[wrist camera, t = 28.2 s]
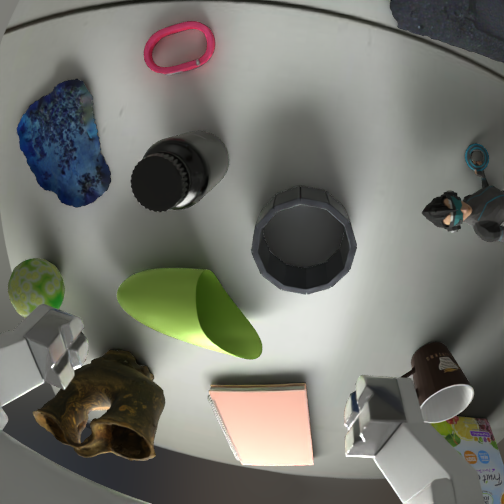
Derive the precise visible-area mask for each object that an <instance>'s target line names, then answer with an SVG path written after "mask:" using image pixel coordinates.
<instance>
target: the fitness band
mask: <svg viewBox="0 0 504 504" xmlns="http://www.w3.org/2000/svg"><path fill="white" fill-rule="evenodd" d="M188 29H198V30H200V31H202V32H203V33H204V34H205V36H206V39H207V49H206V52H205V53H204V55H203V56H202V57H201V58H200V59H197V60H193V61H190V62H186V63H183V64H180V65H176V66H172V67H159V66H157V65H156V64H155V63H154V61H153V58H152V51H153V48H154V46H155V45H156V43H157V42H158V41H159V40H160V39H162V38H163V37H165V36H168V35H171V34H174V33H177V32H181V31H184V30H188ZM214 49H215V39H214V35H213V33H212V31H211V30H210V29H209V28H208V27H207V26H206V25H204V24H202V23H200V22H196V21H187V22H183V23H179V24H175V25H172V26H169V27H166V28H163V29H161V30H159V31H157V32H156V33H154V34H153V35H152V36H151V37H150V38H149V40H148V41H147V43H146V45H145V48H144V60H145V62H146V64H147V66H148V67H149V68H150V69H151V70H153V71H155V72H157V73H163V74H165V75H171V74H176V73H180V72H184V71H188V70H191V69H194V68H197V67H199V66H201V65H203V64H204V63H206V62H207V61H208V60H209V59H210V58H211V56H212V54H213V52H214Z"/></svg>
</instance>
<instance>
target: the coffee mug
mask: <svg viewBox="0 0 504 504" xmlns="http://www.w3.org/2000/svg"><path fill="white" fill-rule="evenodd" d="M411 365H412V370H411V371H409V372H408V373H406V374H405V375H403V376H401V377H400V378H407V377H409V376H410V375H412V374H413V379H414V387H415V390H416V394H417V398H418V401H419V405H420V408H421V412H422V416H423V420H424V422H429V423H439V422H443V421H446V420H448V419H451V418H453V417H454V416H456V415H458V414H459V413H461V412H462V411H463V410H464V409H465V408H466V407H467V406H468V405H469V404H470V403H471V401H472V399H473V396H474V390H473V388H472V386H471V384H470V383H469V381H468V380H467V378H466V376H465V375H464V373H463V371H462V370H461V368H460V367H459V365H458V363H457V362H456V360H455V359H454V357H453V356H452V354H451V353H450V351H449V349H448V348H447V346H446V345H445V344H443V343H441V342H432V343H428V344H426V345H424V346H422V347H421V348H420V349H418V350H417V351H416V352H415V354H414V355H413V357H412V360H411Z"/></svg>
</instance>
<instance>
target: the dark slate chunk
mask: <svg viewBox="0 0 504 504" xmlns="http://www.w3.org/2000/svg"><path fill="white" fill-rule="evenodd" d="M390 9H391V11H392V14H393V16H394V18H395V19H396V20H397V22H398V26H397V27H398V28H400V29H403V30H408V31H410V32H412V33H415V34H419V35H422V36H425V35H427V36H429V37H430V38H431V39H438V40H440V41H442V42H446V43H448V44H450V45H453V46H457V47H460V48H463V49H466V50H467V51H473V52H476V53H478V54H482V55H484V56H486V57H490V58H491V59H494V60H497V61H501V62H503V63H504V0H391V3H390Z"/></svg>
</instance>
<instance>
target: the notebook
mask: <svg viewBox="0 0 504 504" xmlns="http://www.w3.org/2000/svg"><path fill="white" fill-rule="evenodd" d="M210 386H211V389H210V390H209V393H210V395H211V397H210V399H211V398H212V400H211V401H210V399H209V396H210V395H209V396H208V400H209V403H210V405H211V407H212V410H213V412H214V414H215V416H216V419H217V421H218V423H219V425H220V427H221V429H222V431H223V433H224V435H225V438H226V440H227V442H228V444H229V443H230V442H231V443H230V444H229V446H230V448H231V450H232V452H233V454H234V456H235V458H236V460H237V459H240V460H238V461H241V463H242V465H266V466H297V465H313V460H314V458H313V447H312V437H311V427H310V417H309V408H308V398H307V390H306V383H293V384H267V385H210ZM211 402H212V403H211ZM212 404H213V406H212ZM214 405H215V406H214ZM213 407H214V408H213ZM214 409H215V410H214ZM216 410H217V411H216ZM215 412H216V413H215ZM217 412H218V413H217ZM216 414H217V415H216ZM218 414H219V415H218ZM217 416H218V417H217ZM220 419H221V420H220ZM221 421H222V422H221ZM221 423H223V424H221ZM222 425H224V426H222ZM223 427H225V428H223ZM224 429H225V430H224ZM225 431H226V432H225ZM226 433H227V434H226ZM226 435H227V437H226ZM228 438H230V439H228ZM229 440H230V441H229ZM231 445H232V446H231ZM232 447H233V448H232ZM233 450H234V451H233ZM235 453H236V454H235ZM237 455H238V457H236V456H237Z"/></svg>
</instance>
